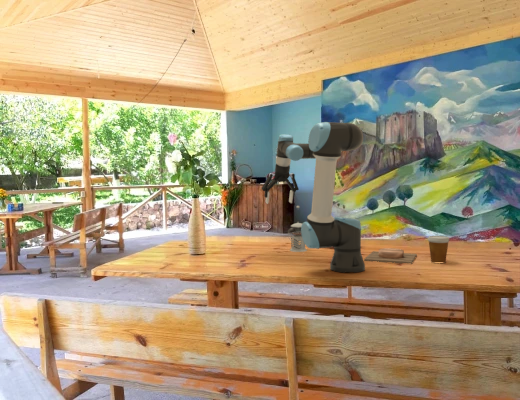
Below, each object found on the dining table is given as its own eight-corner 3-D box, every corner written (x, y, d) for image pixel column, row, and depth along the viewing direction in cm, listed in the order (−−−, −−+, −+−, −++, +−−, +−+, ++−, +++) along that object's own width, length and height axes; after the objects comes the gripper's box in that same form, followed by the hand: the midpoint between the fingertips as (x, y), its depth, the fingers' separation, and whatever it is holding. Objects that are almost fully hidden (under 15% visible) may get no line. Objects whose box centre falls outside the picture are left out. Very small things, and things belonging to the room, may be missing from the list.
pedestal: (411, 264, 208) (411, 255, 208) (364, 260, 217) (364, 252, 217) (416, 255, 228) (416, 248, 228) (373, 253, 237) (373, 245, 237)
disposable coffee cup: (451, 264, 206) (451, 238, 205) (429, 264, 208) (429, 238, 207) (446, 260, 215) (447, 235, 215) (426, 260, 217) (426, 235, 216)
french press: (300, 252, 243) (299, 206, 241) (283, 250, 250) (282, 205, 249) (310, 249, 250) (310, 205, 248) (294, 247, 258) (293, 204, 256)
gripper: (302, 162, 240) (297, 199, 247) (258, 162, 232) (254, 200, 239) (307, 166, 233) (302, 204, 240) (262, 166, 225) (258, 205, 232)
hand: (278, 202), depth 239 cm, fingers open, 13 cm apart
